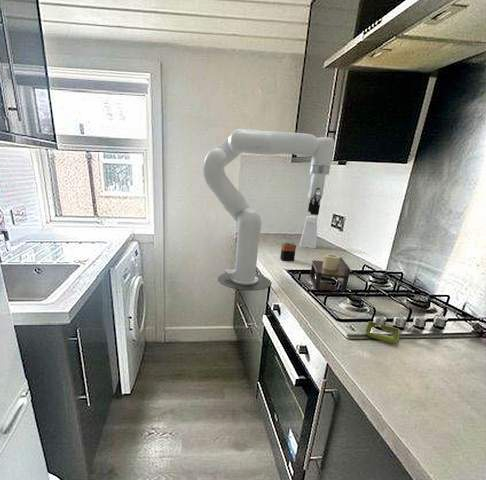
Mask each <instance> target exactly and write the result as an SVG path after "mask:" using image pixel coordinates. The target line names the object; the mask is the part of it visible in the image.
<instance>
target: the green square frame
mask: <svg viewBox="0 0 486 480" xmlns="http://www.w3.org/2000/svg"><path fill="white" fill-rule="evenodd" d="M377 324H378V322H375V321H370V320H369V321H368V322H367V324H366V328H365V333H366V335H367V336H368V337H369V338H372V339H376V340H378V341H381V342H386V343H389V344H396V343H397V342H399V340H400V334H401V333H400V332H401V330H400V329H399V328H398V327H394V326H390V325H386V324H382V323H379V324H380V325H381V329H382V330H384V331H390V332H393V333H395V334H394V335H393V336H388V335H377V334H374V333H370V331H371V328H372V327H375V325H377Z"/></svg>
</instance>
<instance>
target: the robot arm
mask: <svg viewBox="0 0 486 480" xmlns="http://www.w3.org/2000/svg"><path fill="white" fill-rule="evenodd" d="M334 146H335V140H334V138H333V137H328V136H323V137H322V136H321V137H317V136H315V135H314V134H311V133H302V132H290V131H288V132H287V131H270V130H256V129H248V128H247V129H246V128H237V129H235V130H233V131H232V132H231V133H230V135H229V136H228V137H227V138H226V139H225V140H224V141H223V142H221V144H219V145H217V147H215V148H212V149H210V150H209V151H208V152H207V154H206V156H205V158H204V162H203V165H202V172H203V178H204V181H205V183H206V185H207V186H208V188H209V189H210V191H211V193H213V194H214V196H215V197H216V198H217V200H218V201H219V202H220V203H221V205H222V207H223V208H224V209H225V211H226V212H228V213H229V215H230V216H231V217H232V218H233V219H234V221H235V222H236V223H237V225H238V227H237V236H236V251H235V263H234V269H225V270H224V273H225V274H227V275H232V276H231V281H233V282H234V283H237V284H242V285H253V284H256V283H257V282H258V278H257V277H255V274H257V262H258V255H259V242H260V236H261V232H262V231H261V230H262V219H261V216H260V214H258V212H257V211H255V209H254V208H253V207H252V205H251V204H250V203H249V202H248V200H247V199H246V198H245V196H244V195H243V194H242V193H241V192H240V191H239V190H238V189H237V188H236V186H235V185H234V184H233V182H232V181H231V179H230V178H229V177H228V176H227V174H226V172H225V168H226V167H227V166H228V165H229V164H231V163H232V162H233V161H234V160H235V159H237V158H238V157H239V156H240V155H242V153H243V154H256V155H266V156H268V155H269V156H271V155H282V154H283V155H296V156H297V157H299V158H304V157H306V158H307V157H311V162H310V168H309V175H311V176H310V177H311V178H310V181H309V186H308V187H309V188H308V193H307V199H309V202H308V209H307V212H308V213H309V214H310V215H314V216H318V215H319V213H320V207H321V200H322V198H323V195H324V189H325V183H326V176H329V175H330V170H331V164H332V159H333V158H332V157H333V152H334Z"/></svg>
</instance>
